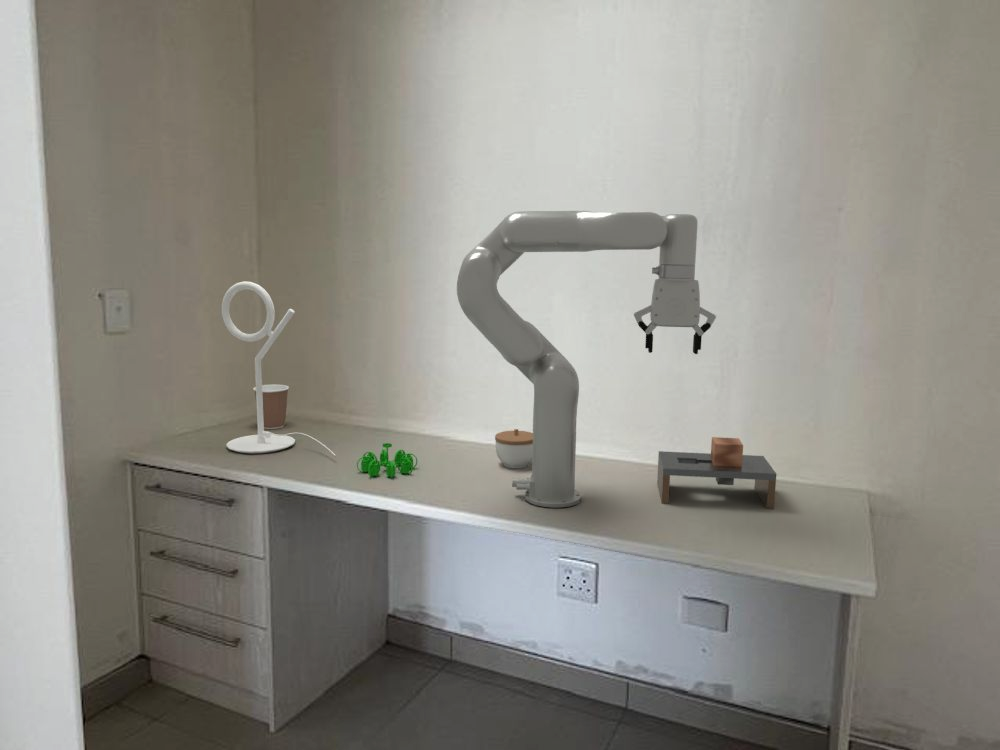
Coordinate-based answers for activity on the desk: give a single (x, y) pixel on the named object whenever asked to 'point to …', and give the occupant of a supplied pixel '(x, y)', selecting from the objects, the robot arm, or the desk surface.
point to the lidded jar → (514, 448)
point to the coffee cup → (274, 405)
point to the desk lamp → (258, 372)
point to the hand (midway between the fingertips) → (672, 352)
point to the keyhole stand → (716, 472)
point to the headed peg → (726, 455)
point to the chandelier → (387, 462)
